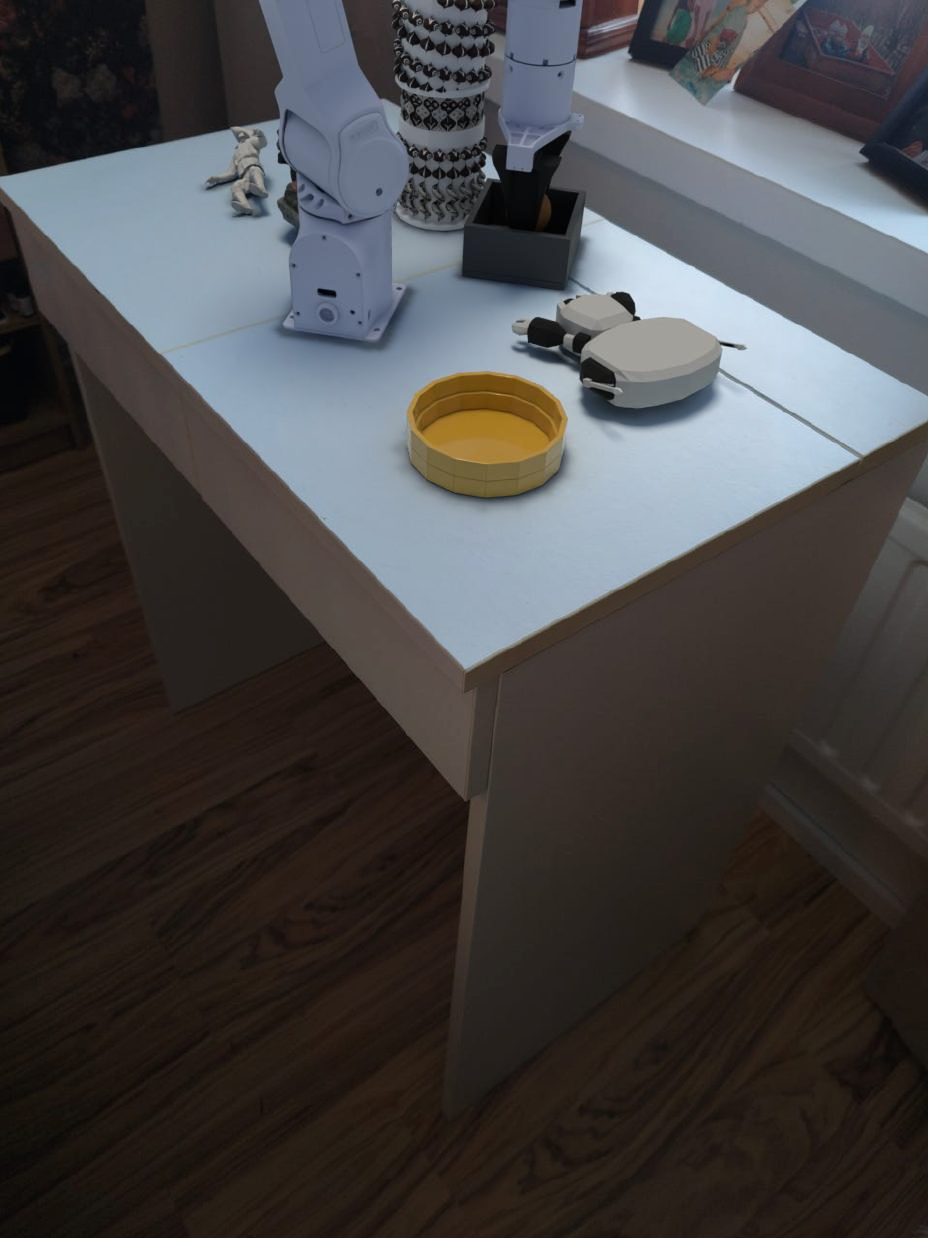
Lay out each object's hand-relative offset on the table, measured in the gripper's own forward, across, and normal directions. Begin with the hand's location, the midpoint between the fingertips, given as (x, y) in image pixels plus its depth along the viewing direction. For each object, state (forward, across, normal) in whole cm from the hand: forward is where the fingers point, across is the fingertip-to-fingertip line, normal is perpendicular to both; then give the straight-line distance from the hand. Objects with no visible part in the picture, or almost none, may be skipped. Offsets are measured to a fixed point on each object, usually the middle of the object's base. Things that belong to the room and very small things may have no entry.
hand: (525, 222), depth 90 cm
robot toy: (+3, -17, -10) cm, 20 cm away
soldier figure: (+3, +6, +28) cm, 29 cm away
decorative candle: (+3, +7, +9) cm, 12 cm away
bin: (+3, 0, 0) cm, 3 cm away
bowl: (+3, -30, -2) cm, 30 cm away
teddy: (+1, 0, 0) cm, 1 cm away
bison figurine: (+3, -3, +18) cm, 18 cm away
